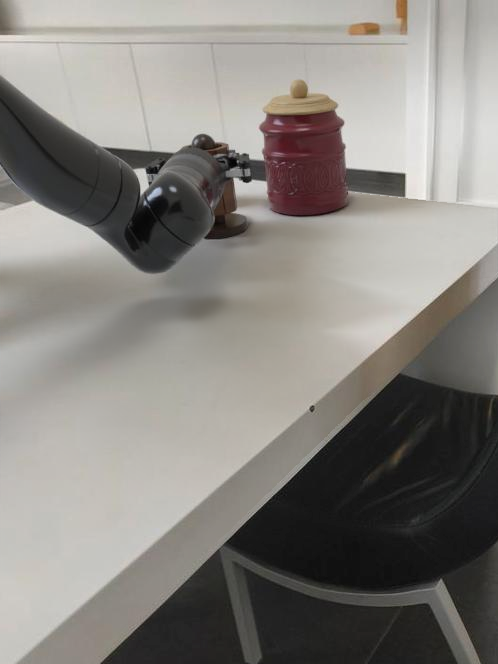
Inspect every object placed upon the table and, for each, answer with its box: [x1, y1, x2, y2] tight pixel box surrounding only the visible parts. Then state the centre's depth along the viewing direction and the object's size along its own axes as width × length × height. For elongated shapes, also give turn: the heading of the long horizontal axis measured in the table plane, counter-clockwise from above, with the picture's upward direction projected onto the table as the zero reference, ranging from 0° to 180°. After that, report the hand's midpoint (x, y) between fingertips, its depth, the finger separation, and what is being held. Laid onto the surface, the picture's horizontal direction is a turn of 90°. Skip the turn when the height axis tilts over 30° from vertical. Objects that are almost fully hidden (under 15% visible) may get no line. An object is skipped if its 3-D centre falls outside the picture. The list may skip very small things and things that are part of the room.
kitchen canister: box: [258, 78, 349, 216], centre depth 105 cm, size 13×13×18 cm
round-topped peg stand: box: [190, 133, 249, 240], centre depth 98 cm, size 9×9×13 cm
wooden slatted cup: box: [179, 141, 238, 216], centre depth 97 cm, size 6×7×8 cm
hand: (209, 158), depth 98 cm, fingers closed on wooden slatted cup, 6 cm apart
